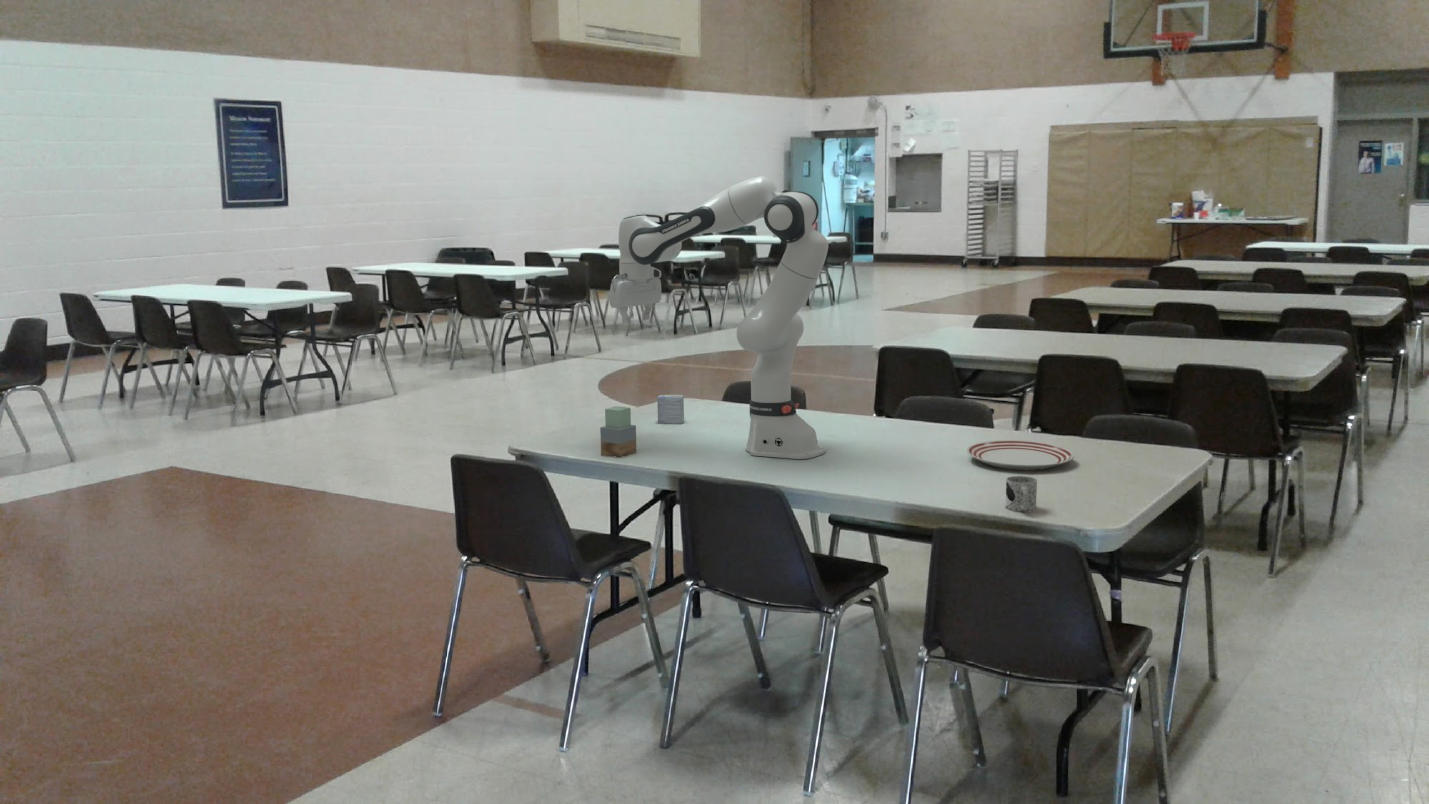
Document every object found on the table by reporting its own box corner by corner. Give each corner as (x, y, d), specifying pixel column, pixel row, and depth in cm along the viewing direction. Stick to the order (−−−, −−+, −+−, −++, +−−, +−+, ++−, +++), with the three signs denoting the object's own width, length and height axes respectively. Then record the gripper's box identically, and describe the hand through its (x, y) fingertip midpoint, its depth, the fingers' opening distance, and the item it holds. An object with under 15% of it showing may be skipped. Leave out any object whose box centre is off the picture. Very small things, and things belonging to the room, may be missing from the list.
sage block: (630, 425, 322) (630, 407, 321) (620, 428, 318) (619, 410, 317) (616, 423, 325) (615, 406, 324) (605, 426, 321) (605, 408, 320)
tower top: (636, 439, 323) (635, 425, 322) (620, 444, 317) (620, 429, 316) (616, 437, 326) (615, 423, 326) (600, 441, 321) (600, 427, 320)
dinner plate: (1092, 472, 295) (1093, 459, 295) (990, 477, 291) (991, 464, 290) (1045, 449, 322) (1045, 437, 322) (951, 454, 318) (951, 442, 317)
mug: (1003, 504, 265) (1004, 475, 264) (1033, 504, 264) (1034, 476, 263) (1010, 516, 255) (1011, 486, 254) (1041, 516, 254) (1042, 487, 253)
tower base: (636, 453, 323) (636, 439, 323) (621, 458, 318) (620, 444, 317) (616, 450, 327) (616, 437, 327) (601, 455, 321) (600, 441, 321)
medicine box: (684, 421, 368) (683, 394, 367) (682, 424, 364) (682, 397, 362) (659, 421, 369) (659, 394, 367) (657, 424, 364) (657, 397, 363)
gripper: (621, 275, 320) (622, 325, 322) (664, 271, 336) (665, 318, 339) (603, 274, 323) (605, 324, 325) (647, 270, 340) (648, 317, 342)
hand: (636, 321), depth 332 cm, fingers open, 8 cm apart
